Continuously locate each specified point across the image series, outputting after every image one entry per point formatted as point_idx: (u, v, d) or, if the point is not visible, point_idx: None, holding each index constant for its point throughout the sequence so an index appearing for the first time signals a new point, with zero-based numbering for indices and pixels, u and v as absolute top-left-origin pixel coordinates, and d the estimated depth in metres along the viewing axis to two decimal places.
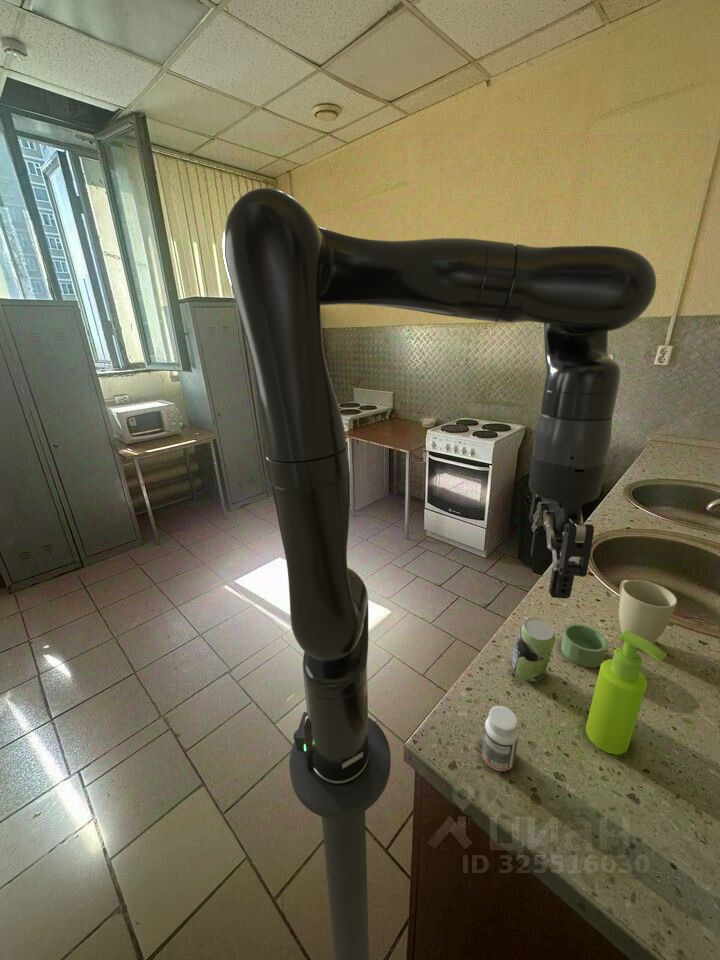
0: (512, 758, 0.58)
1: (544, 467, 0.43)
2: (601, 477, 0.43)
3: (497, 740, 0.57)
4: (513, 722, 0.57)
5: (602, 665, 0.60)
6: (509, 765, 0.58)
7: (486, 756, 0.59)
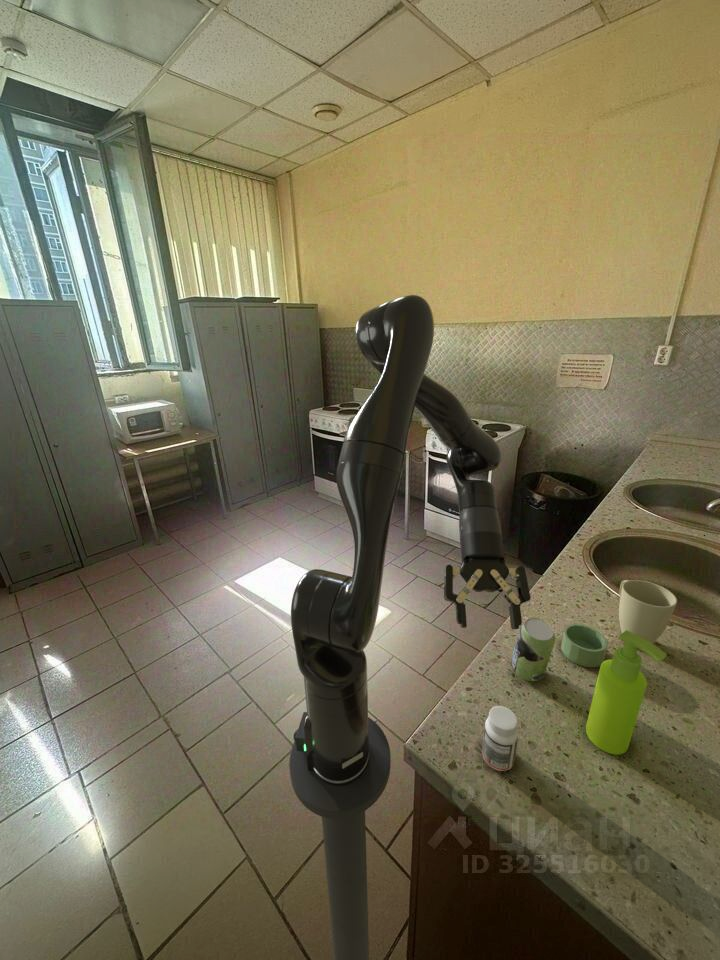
0: (512, 758, 0.58)
1: None
2: (470, 541, 0.70)
3: (497, 740, 0.57)
4: (513, 722, 0.57)
5: (602, 665, 0.60)
6: (509, 765, 0.58)
7: (486, 756, 0.59)
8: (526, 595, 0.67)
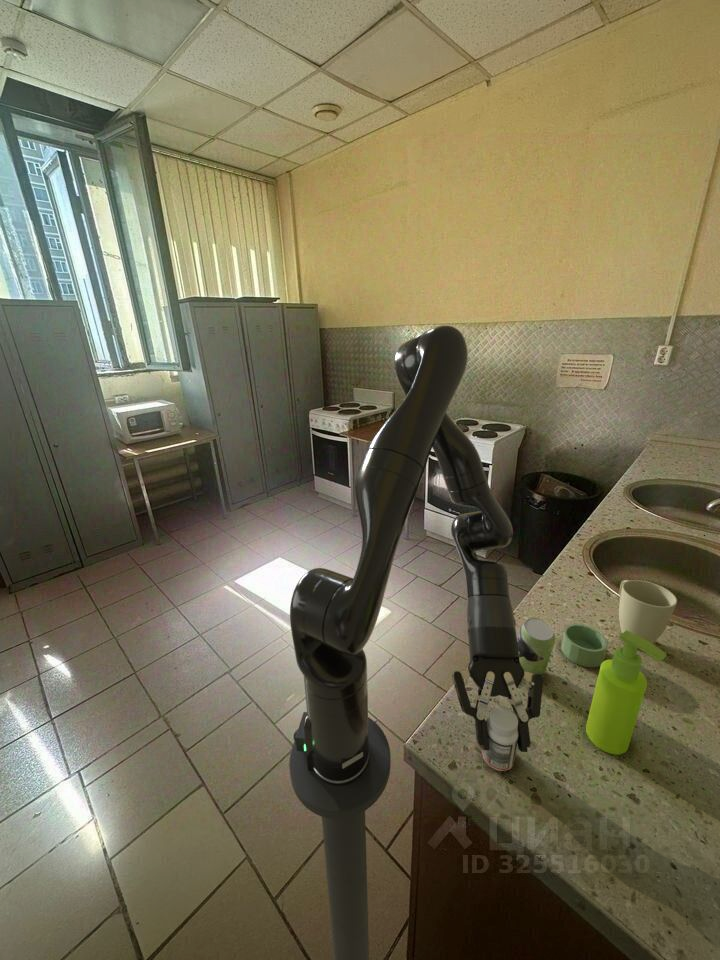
0: (512, 758, 0.58)
1: None
2: (480, 637, 0.61)
3: (497, 740, 0.57)
4: (513, 722, 0.57)
5: (602, 665, 0.60)
6: (509, 765, 0.58)
7: (486, 756, 0.59)
8: (535, 710, 0.58)
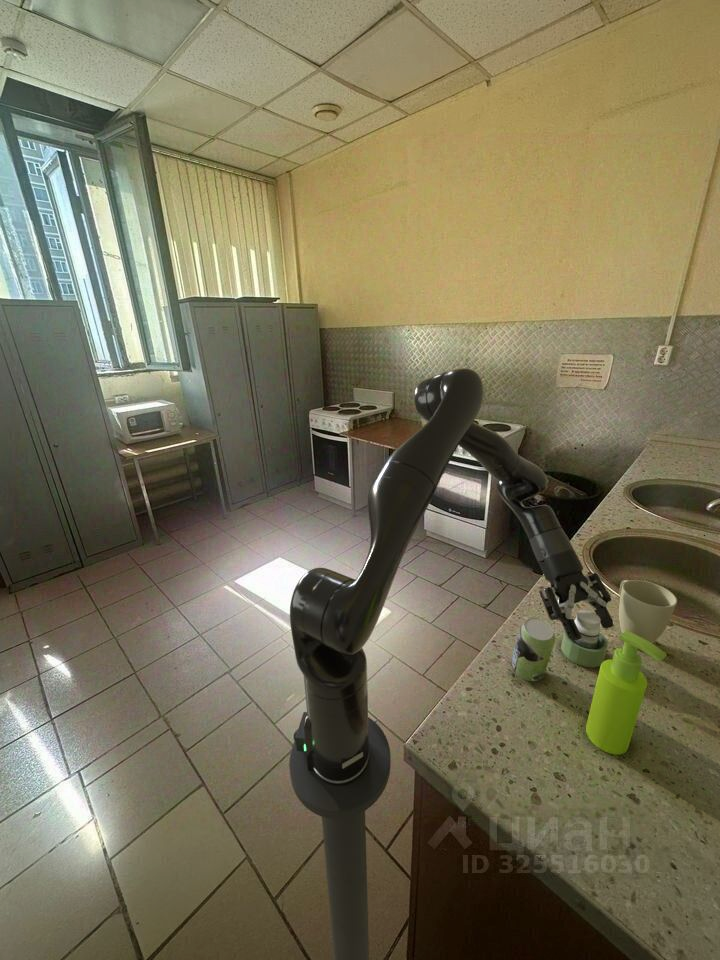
0: (596, 645, 0.78)
1: None
2: (559, 561, 0.79)
3: (591, 633, 0.76)
4: (597, 617, 0.77)
5: (602, 665, 0.60)
6: None
7: None
8: (608, 597, 0.80)
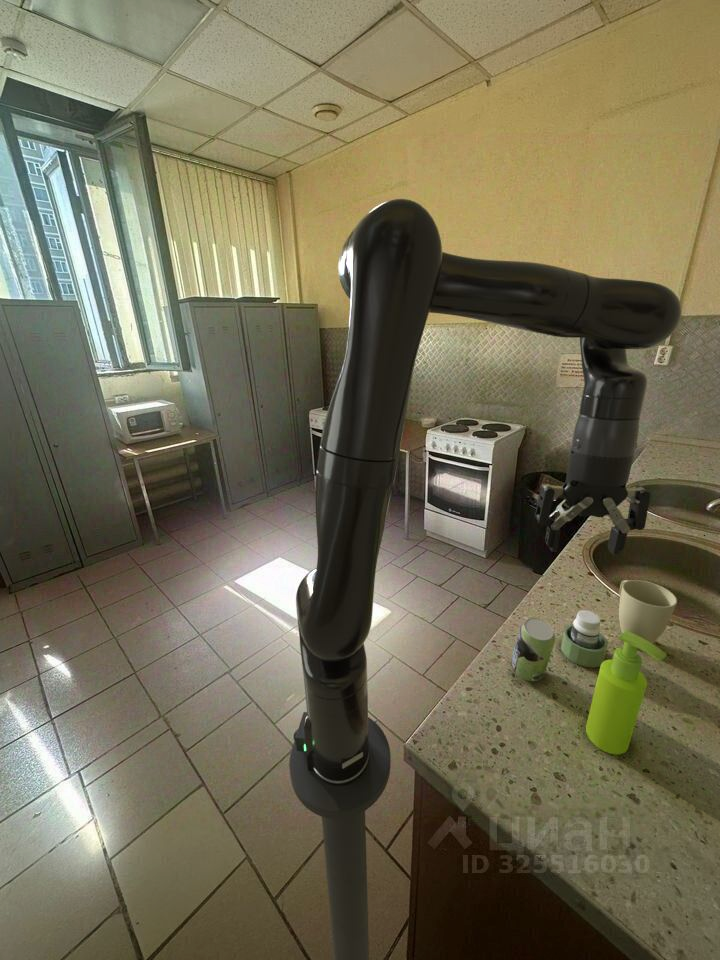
0: (596, 645, 0.78)
1: None
2: (588, 466, 0.53)
3: (591, 633, 0.76)
4: (597, 617, 0.77)
5: (602, 665, 0.60)
6: None
7: None
8: (640, 525, 0.56)
